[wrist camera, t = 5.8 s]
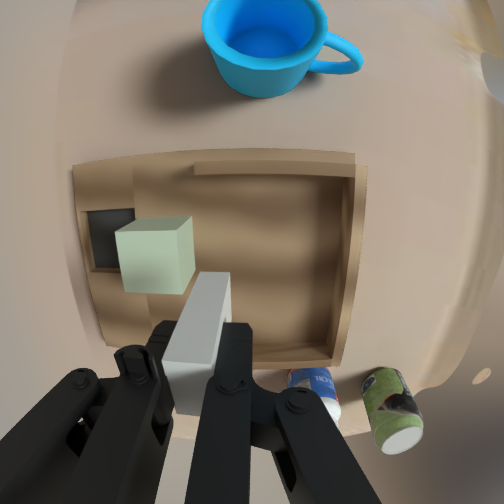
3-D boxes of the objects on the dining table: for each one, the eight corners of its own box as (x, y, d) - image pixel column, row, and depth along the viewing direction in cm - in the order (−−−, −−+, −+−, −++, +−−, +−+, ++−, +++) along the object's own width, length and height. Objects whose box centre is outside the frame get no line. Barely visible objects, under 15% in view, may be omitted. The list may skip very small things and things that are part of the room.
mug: (209, 91, 21) (188, 63, 14) (226, 20, 19) (216, -26, 11) (340, 117, 22) (376, 100, 14) (350, 44, 19) (383, 9, 12)
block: (139, 217, 24) (114, 231, 19) (191, 215, 24) (176, 230, 19) (145, 268, 25) (124, 292, 20) (195, 269, 25) (182, 294, 20)
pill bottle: (337, 373, 31) (356, 432, 22) (304, 394, 32) (314, 454, 23) (312, 351, 30) (327, 416, 21) (277, 375, 31) (282, 440, 22)
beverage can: (377, 398, 33) (402, 461, 22) (343, 385, 32) (366, 458, 21) (407, 369, 31) (441, 431, 20) (376, 353, 30) (412, 425, 19)
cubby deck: (80, 164, 23) (54, 167, 19) (349, 153, 23) (367, 153, 19) (111, 338, 30) (96, 360, 26) (329, 346, 30) (338, 372, 25)
